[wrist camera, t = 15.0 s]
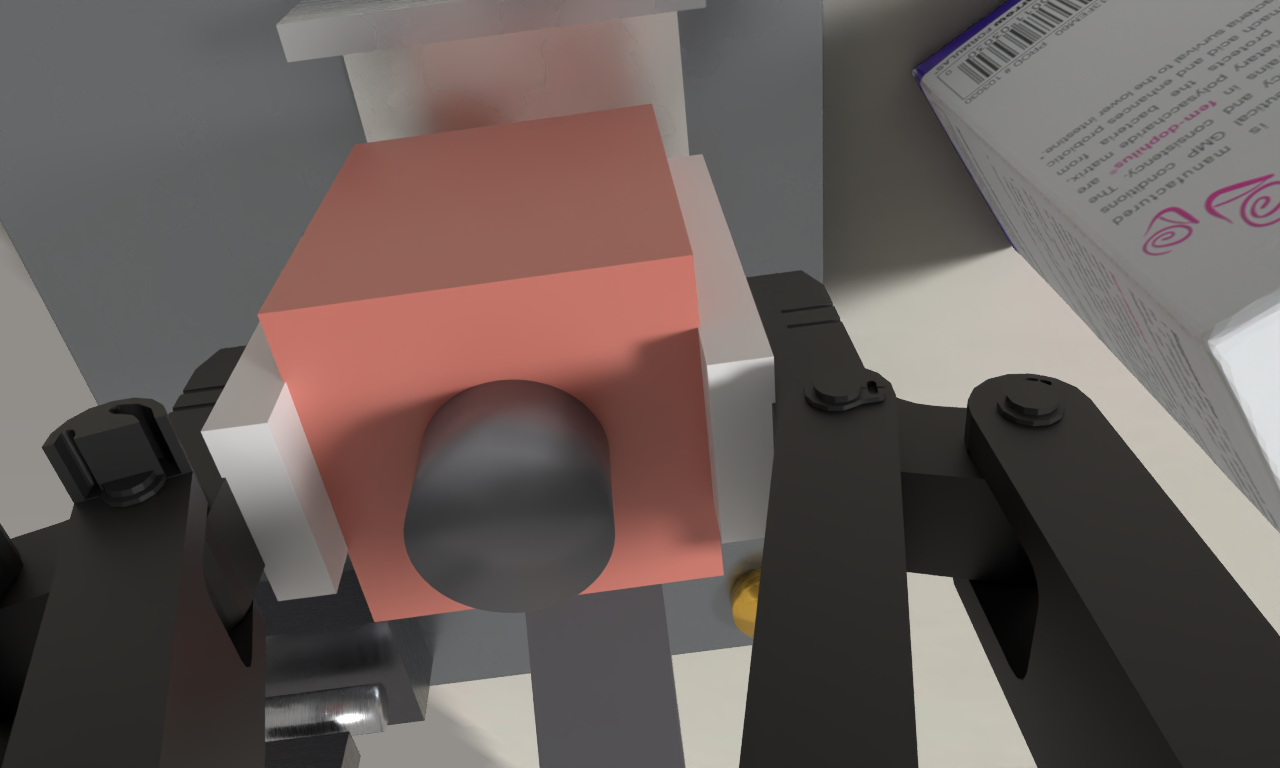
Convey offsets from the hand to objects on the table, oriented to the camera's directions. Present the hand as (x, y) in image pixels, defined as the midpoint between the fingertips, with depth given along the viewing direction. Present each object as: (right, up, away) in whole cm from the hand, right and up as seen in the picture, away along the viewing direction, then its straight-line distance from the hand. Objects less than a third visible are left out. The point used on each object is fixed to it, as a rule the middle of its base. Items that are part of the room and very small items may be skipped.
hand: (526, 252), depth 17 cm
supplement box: (+12, +4, +5) cm, 14 cm away
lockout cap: (0, 0, +1) cm, 0 cm away
